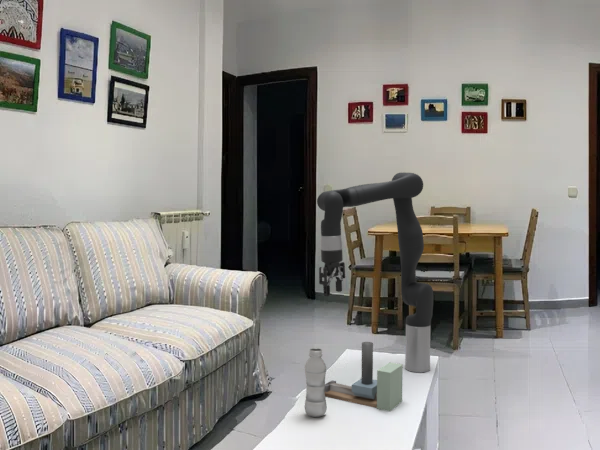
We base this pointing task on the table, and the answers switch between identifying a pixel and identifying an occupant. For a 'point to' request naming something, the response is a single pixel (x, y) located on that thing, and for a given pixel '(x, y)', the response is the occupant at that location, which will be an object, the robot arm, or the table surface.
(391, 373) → the gauge cabinet
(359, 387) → the cylinder
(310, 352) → the plastic bottle
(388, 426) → the table surface
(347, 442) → the table surface
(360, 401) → the rail
